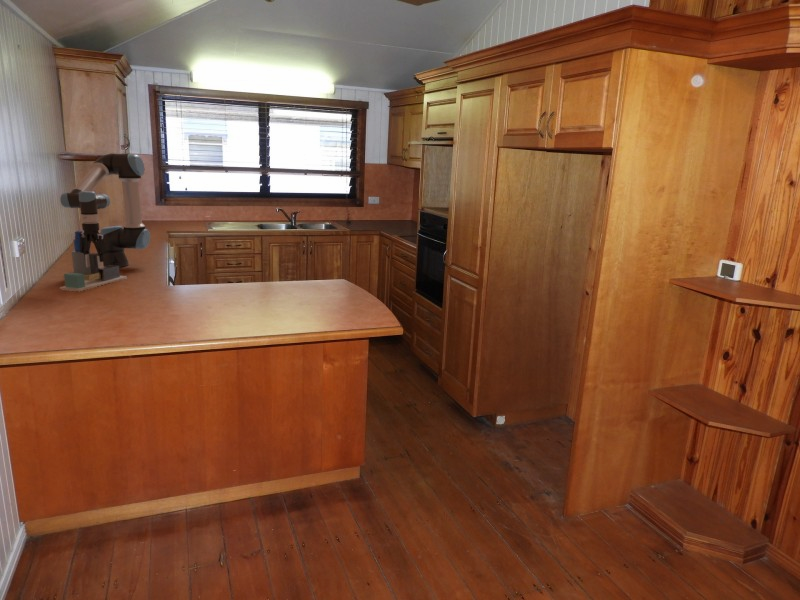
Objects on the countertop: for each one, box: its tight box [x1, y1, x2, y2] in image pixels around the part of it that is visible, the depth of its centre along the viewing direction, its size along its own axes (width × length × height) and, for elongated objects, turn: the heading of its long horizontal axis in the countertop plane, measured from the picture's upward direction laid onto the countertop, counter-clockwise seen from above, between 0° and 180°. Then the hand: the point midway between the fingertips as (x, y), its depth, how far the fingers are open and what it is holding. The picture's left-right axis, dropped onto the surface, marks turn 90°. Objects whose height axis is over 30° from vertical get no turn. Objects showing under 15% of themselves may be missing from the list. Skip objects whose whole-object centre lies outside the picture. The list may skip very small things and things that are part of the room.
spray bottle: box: [71, 230, 92, 275], centre depth 300 cm, size 9×9×25 cm
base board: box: [59, 275, 128, 293], centre depth 290 cm, size 32×12×1 cm, turn 164°
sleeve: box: [95, 265, 121, 281], centre depth 297 cm, size 11×6×6 cm, turn 164°
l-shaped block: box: [84, 252, 102, 281], centre depth 292 cm, size 18×3×13 cm, turn 164°
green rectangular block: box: [63, 272, 85, 288], centre depth 278 cm, size 4×8×6 cm, turn 74°
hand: (95, 267), depth 289 cm, fingers open, 7 cm apart
